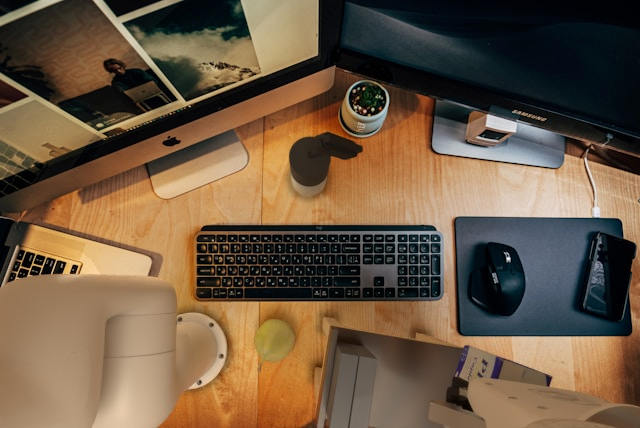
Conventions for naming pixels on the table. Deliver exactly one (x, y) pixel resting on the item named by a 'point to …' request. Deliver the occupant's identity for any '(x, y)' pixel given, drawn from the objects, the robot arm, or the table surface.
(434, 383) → the brown shallow tray
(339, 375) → the grey book
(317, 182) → the track light
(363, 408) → the grey book
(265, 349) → the fruit
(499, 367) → the box
